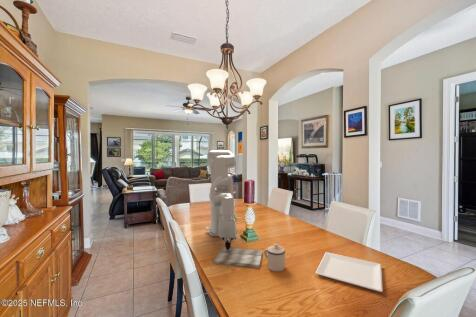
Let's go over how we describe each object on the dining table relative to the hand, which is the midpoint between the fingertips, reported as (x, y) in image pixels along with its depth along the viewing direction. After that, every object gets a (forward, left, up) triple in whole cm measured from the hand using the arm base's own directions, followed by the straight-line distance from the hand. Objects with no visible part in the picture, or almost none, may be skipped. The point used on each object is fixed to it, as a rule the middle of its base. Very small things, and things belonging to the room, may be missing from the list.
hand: (227, 248), depth 127 cm
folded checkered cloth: (+8, -2, -2) cm, 8 cm away
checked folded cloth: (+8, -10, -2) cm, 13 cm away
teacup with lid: (+27, -12, -2) cm, 30 cm away
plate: (+63, -10, -3) cm, 64 cm away
